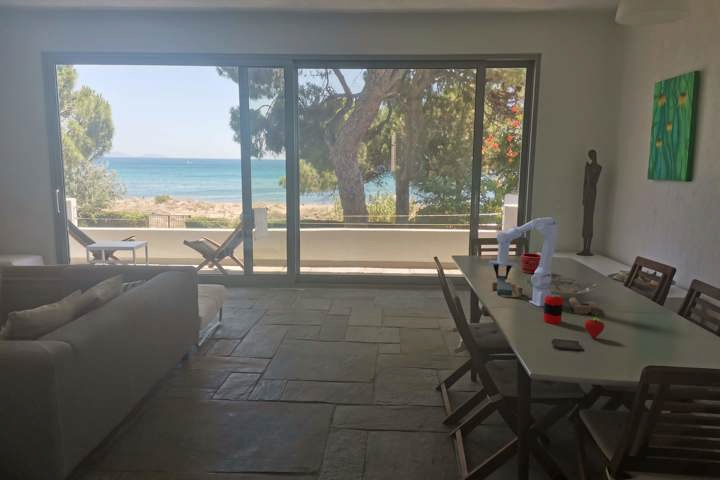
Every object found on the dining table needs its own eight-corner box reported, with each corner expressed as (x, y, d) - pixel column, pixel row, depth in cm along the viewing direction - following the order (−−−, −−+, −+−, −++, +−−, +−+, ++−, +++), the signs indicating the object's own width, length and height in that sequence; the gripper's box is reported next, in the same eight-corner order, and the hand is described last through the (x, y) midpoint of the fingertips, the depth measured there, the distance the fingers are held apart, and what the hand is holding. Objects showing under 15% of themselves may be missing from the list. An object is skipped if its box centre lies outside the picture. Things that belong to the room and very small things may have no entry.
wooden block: (599, 308, 230) (591, 298, 247) (575, 306, 232) (569, 296, 249) (599, 315, 230) (591, 305, 247) (574, 313, 233) (568, 303, 250)
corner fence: (521, 295, 263) (522, 287, 263) (502, 296, 261) (502, 288, 261) (510, 289, 276) (511, 282, 275) (491, 290, 274) (492, 282, 273)
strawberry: (581, 334, 203) (583, 311, 201) (600, 336, 202) (602, 312, 200) (585, 339, 197) (587, 316, 196) (605, 341, 196) (607, 317, 195)
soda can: (550, 324, 215) (552, 298, 214) (539, 319, 223) (541, 294, 221) (564, 323, 217) (567, 297, 216) (553, 318, 225) (555, 293, 223)
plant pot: (515, 271, 326) (517, 253, 324) (530, 269, 332) (532, 252, 330) (530, 275, 314) (531, 257, 313) (545, 273, 320) (546, 256, 318)
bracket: (498, 280, 270) (498, 275, 267) (513, 282, 268) (513, 276, 264) (496, 294, 265) (496, 288, 261) (512, 295, 262) (512, 290, 259)
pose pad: (494, 292, 270) (494, 291, 270) (509, 291, 272) (509, 291, 272) (502, 297, 260) (502, 296, 260) (518, 296, 261) (518, 296, 261)
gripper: (488, 254, 263) (487, 278, 265) (516, 256, 258) (514, 281, 260) (490, 252, 270) (488, 276, 272) (517, 254, 264) (516, 278, 266)
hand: (501, 278), depth 266 cm, fingers closed on bracket, 4 cm apart
